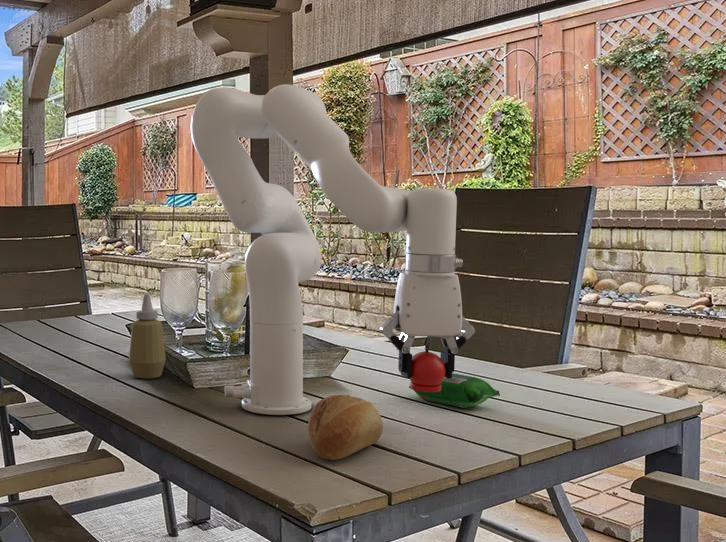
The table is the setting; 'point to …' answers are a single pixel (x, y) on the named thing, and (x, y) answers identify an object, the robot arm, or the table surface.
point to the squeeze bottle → (147, 343)
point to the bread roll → (343, 426)
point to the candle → (427, 372)
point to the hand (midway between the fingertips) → (425, 375)
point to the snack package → (460, 391)
